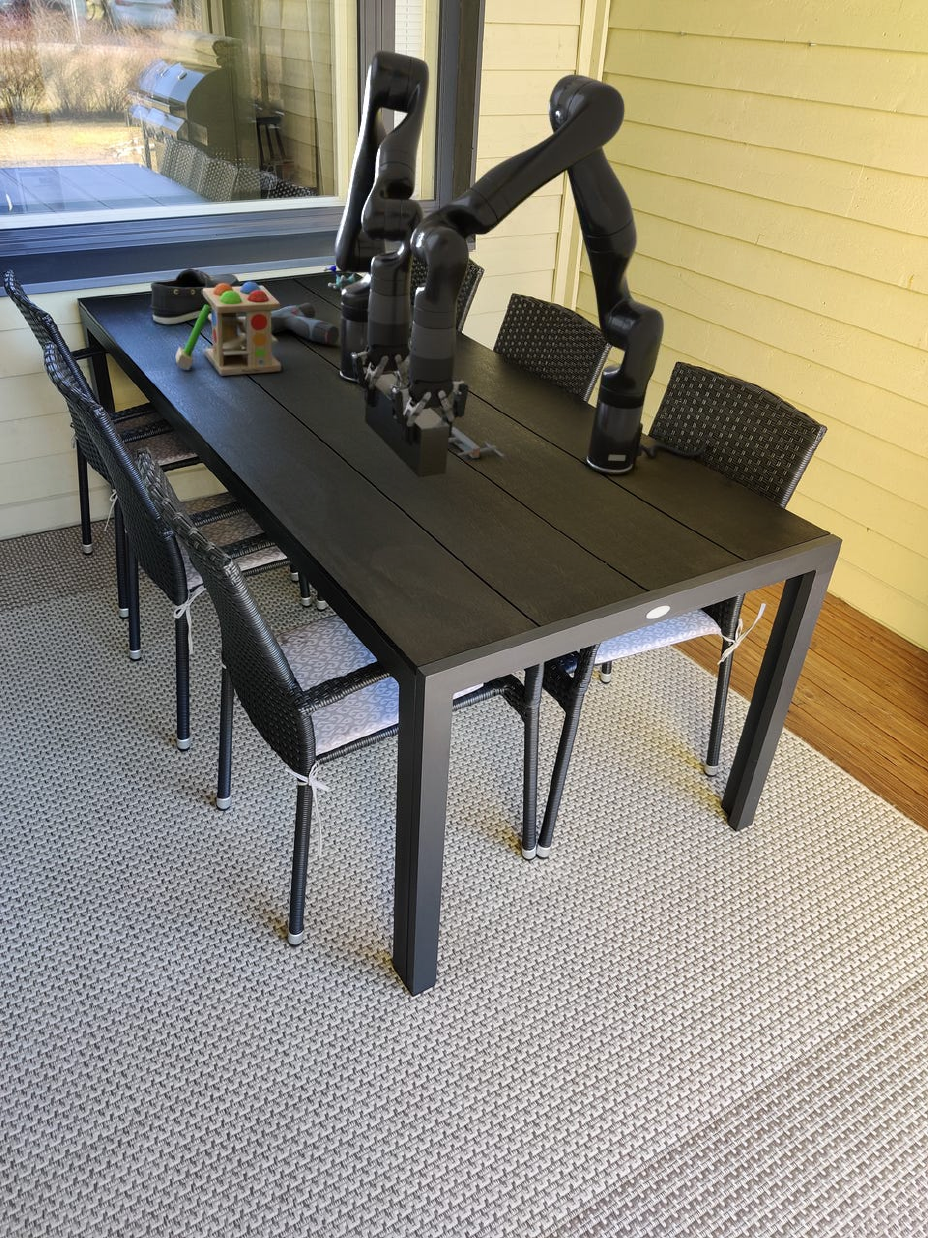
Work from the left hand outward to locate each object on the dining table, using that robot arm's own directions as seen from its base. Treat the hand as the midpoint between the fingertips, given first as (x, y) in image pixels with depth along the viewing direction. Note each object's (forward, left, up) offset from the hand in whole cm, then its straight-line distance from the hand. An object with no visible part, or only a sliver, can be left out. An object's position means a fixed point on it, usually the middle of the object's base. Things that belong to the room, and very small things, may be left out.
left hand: (385, 403), depth 186 cm
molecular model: (-85, -79, -13) cm, 116 cm away
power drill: (-49, -60, -13) cm, 79 cm away
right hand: (+9, +16, 0) cm, 19 cm away
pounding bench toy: (-17, -59, -13) cm, 63 cm away
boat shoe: (-43, -94, -13) cm, 104 cm away
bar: (+5, +8, -5) cm, 10 cm away
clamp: (-17, +9, -13) cm, 23 cm away
